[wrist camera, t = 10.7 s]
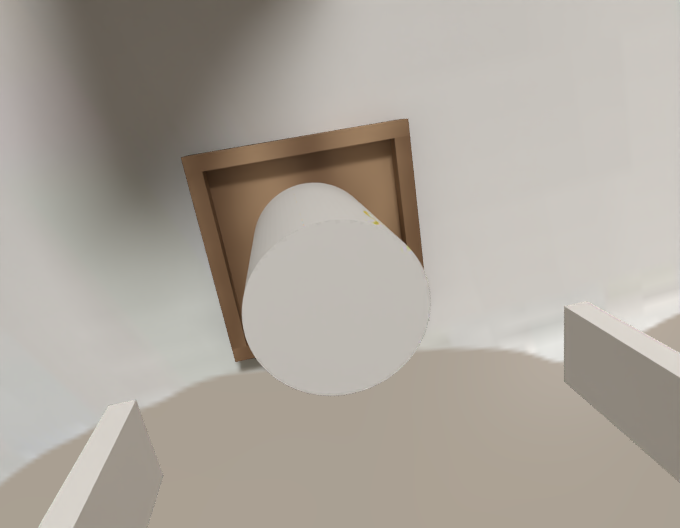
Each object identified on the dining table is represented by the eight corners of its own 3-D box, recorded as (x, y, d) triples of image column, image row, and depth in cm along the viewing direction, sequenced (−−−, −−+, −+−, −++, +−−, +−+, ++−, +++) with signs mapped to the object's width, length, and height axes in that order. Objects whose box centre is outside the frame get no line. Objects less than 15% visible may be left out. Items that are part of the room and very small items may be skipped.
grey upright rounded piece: (373, 293, 32) (428, 385, 21) (259, 302, 31) (251, 405, 20) (372, 179, 30) (433, 213, 18) (248, 185, 29) (232, 226, 17)
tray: (237, 349, 32) (235, 361, 31) (186, 155, 28) (180, 157, 26) (421, 310, 34) (429, 320, 32) (400, 119, 29) (408, 118, 28)
